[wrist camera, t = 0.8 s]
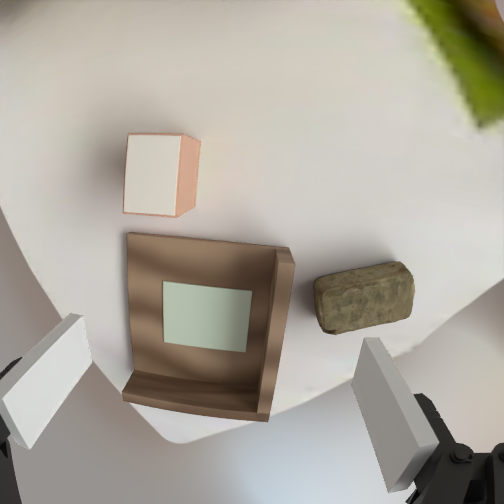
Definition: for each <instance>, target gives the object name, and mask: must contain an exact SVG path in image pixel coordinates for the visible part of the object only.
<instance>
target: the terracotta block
mask: <svg viewBox="0 0 504 504" xmlns="http://www.w3.org/2000/svg"><path fill="white" fill-rule="evenodd" d="M200 146H201V142H200V141H198V140H196V139H194V138H192V137H189V136H187V135H185V134H171V133H128V138H127V149H126V162H125V177H124V197H123V214H136V215H149V216H162V217H174V218H177V217H179V216H181V215H182V214H184V213H185V212H187V211H189V210H190V209H192V208H194V207H195V205H196V191H197V179H198V167H199V156H200Z"/></svg>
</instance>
